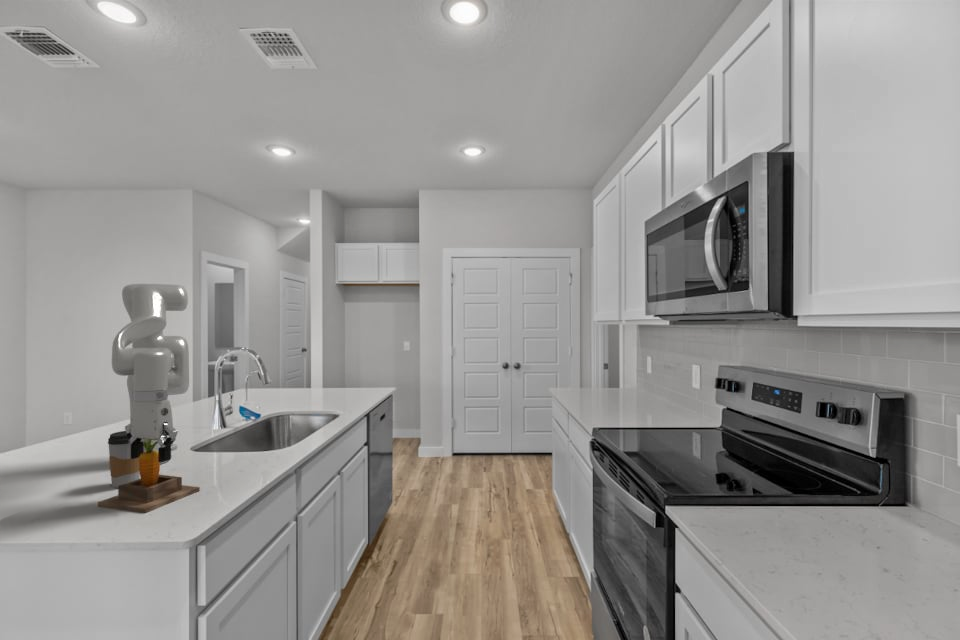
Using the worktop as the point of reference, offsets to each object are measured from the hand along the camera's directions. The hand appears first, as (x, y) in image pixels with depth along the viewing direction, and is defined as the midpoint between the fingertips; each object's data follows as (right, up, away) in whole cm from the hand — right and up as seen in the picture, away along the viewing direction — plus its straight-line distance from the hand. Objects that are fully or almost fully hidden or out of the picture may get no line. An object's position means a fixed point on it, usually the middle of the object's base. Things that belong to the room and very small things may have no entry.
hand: (150, 459), depth 128 cm
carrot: (0, -10, 0) cm, 10 cm away
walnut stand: (0, -10, 0) cm, 10 cm away
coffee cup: (-14, -11, +10) cm, 21 cm away
